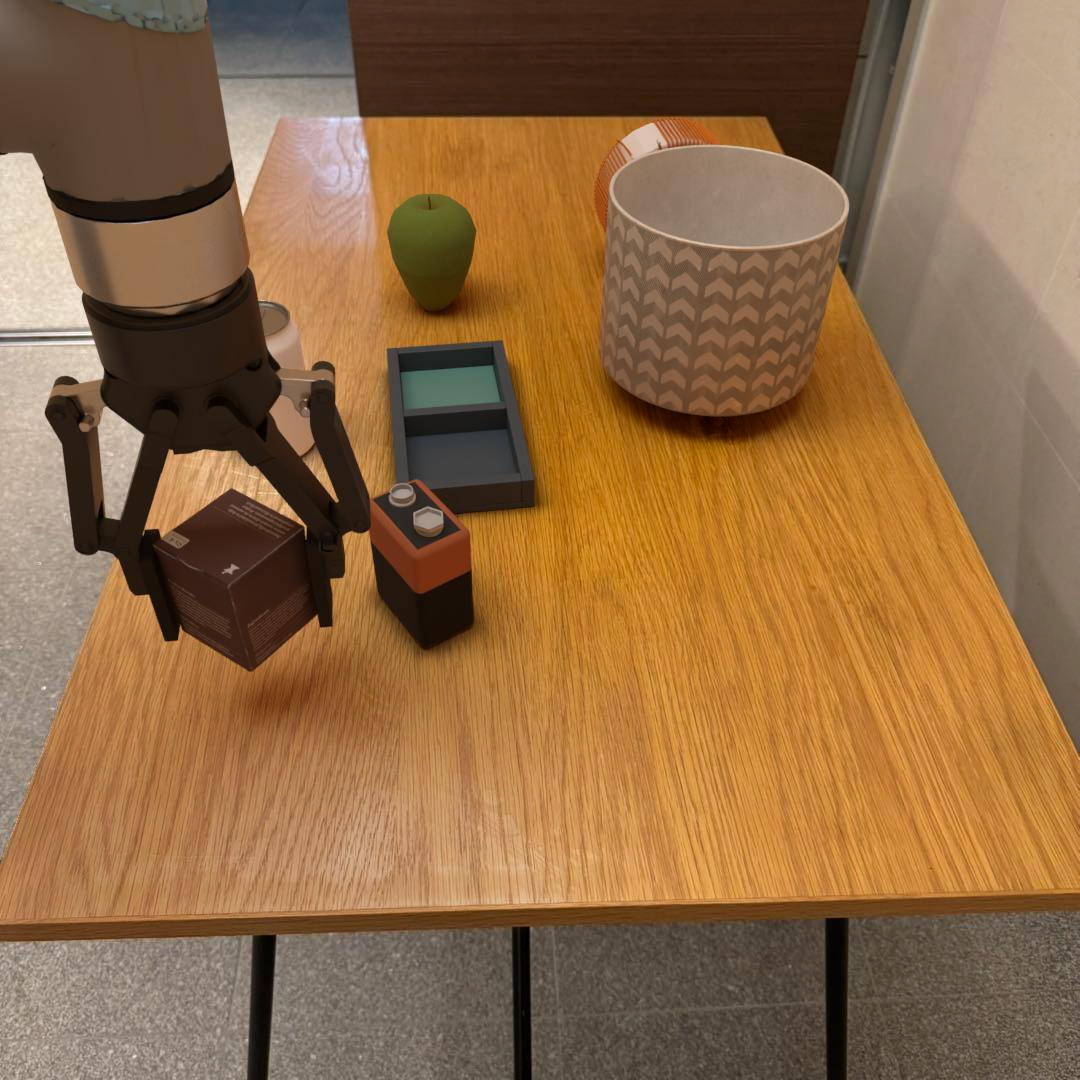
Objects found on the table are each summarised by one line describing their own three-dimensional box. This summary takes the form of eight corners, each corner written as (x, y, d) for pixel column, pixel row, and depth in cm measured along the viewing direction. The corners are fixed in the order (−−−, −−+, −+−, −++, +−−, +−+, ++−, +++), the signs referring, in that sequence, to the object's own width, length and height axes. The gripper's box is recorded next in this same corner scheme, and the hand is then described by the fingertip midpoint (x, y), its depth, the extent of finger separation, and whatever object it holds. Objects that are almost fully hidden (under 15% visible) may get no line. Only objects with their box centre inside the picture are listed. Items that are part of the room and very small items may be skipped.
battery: (423, 653, 68) (412, 547, 61) (375, 594, 72) (359, 488, 65) (477, 625, 70) (472, 520, 63) (427, 569, 74) (417, 464, 67)
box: (323, 614, 61) (308, 526, 56) (251, 677, 57) (227, 588, 52) (252, 573, 63) (232, 484, 58) (178, 631, 60) (149, 542, 55)
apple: (487, 320, 99) (484, 210, 91) (403, 332, 98) (393, 220, 90) (467, 278, 105) (462, 171, 98) (388, 289, 104) (377, 181, 96)
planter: (598, 442, 85) (611, 244, 73) (596, 324, 99) (606, 141, 87) (821, 448, 85) (872, 251, 73) (787, 329, 99) (826, 146, 86)
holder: (400, 518, 78) (397, 491, 76) (389, 374, 92) (386, 348, 90) (534, 506, 79) (534, 479, 77) (502, 365, 94) (502, 339, 92)
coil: (589, 255, 110) (596, 117, 99) (721, 245, 112) (741, 109, 101) (603, 286, 105) (611, 145, 94) (740, 276, 107) (763, 136, 96)
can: (234, 468, 82) (203, 342, 74) (244, 421, 87) (215, 298, 79) (314, 464, 83) (291, 339, 74) (320, 418, 87) (299, 295, 79)
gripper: (398, 228, 49) (421, 559, 64) (-61, 246, 46) (79, 588, 62) (407, 306, 43) (430, 647, 59) (-112, 332, 41) (55, 683, 56)
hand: (250, 617), depth 60 cm, fingers closed on box, 8 cm apart
